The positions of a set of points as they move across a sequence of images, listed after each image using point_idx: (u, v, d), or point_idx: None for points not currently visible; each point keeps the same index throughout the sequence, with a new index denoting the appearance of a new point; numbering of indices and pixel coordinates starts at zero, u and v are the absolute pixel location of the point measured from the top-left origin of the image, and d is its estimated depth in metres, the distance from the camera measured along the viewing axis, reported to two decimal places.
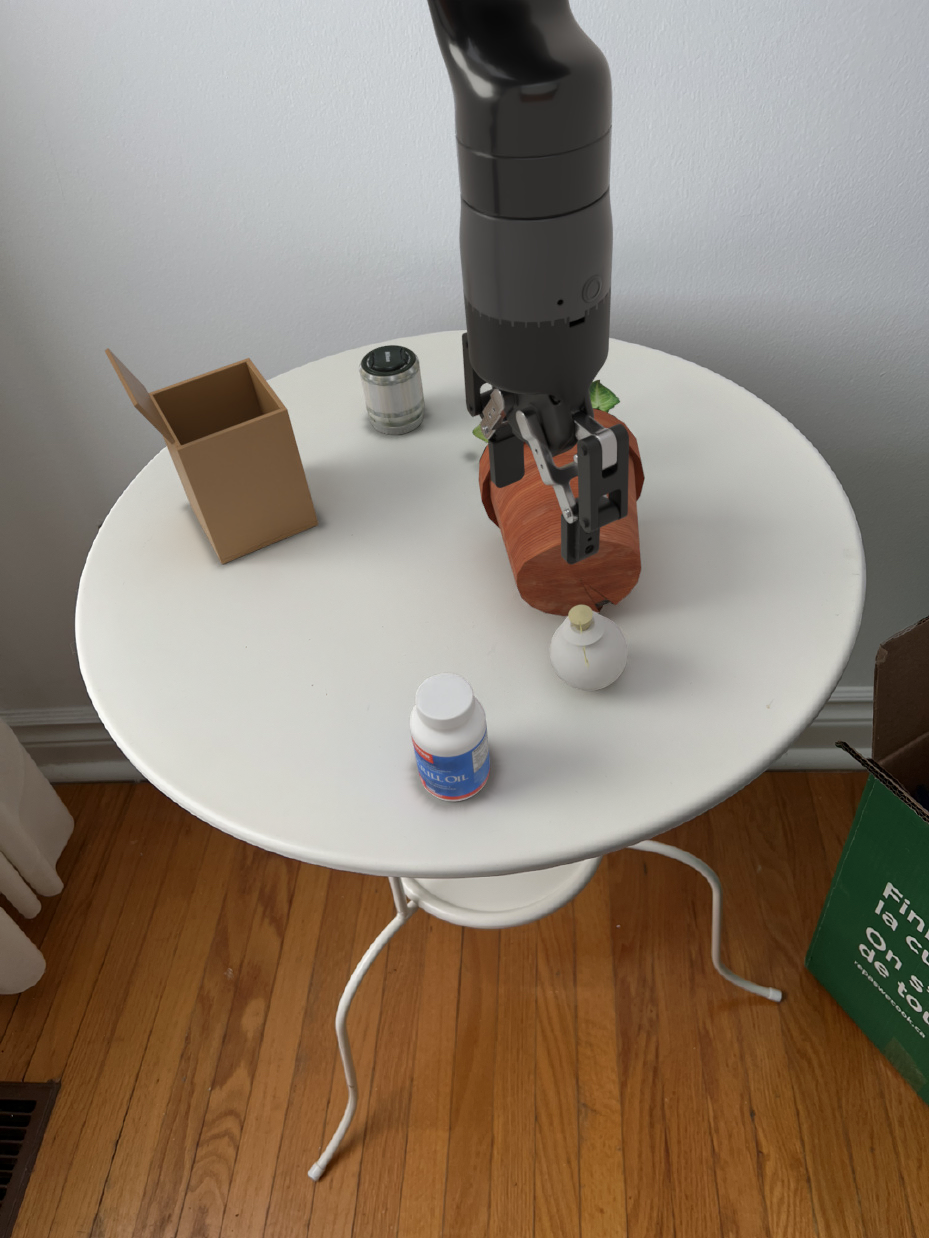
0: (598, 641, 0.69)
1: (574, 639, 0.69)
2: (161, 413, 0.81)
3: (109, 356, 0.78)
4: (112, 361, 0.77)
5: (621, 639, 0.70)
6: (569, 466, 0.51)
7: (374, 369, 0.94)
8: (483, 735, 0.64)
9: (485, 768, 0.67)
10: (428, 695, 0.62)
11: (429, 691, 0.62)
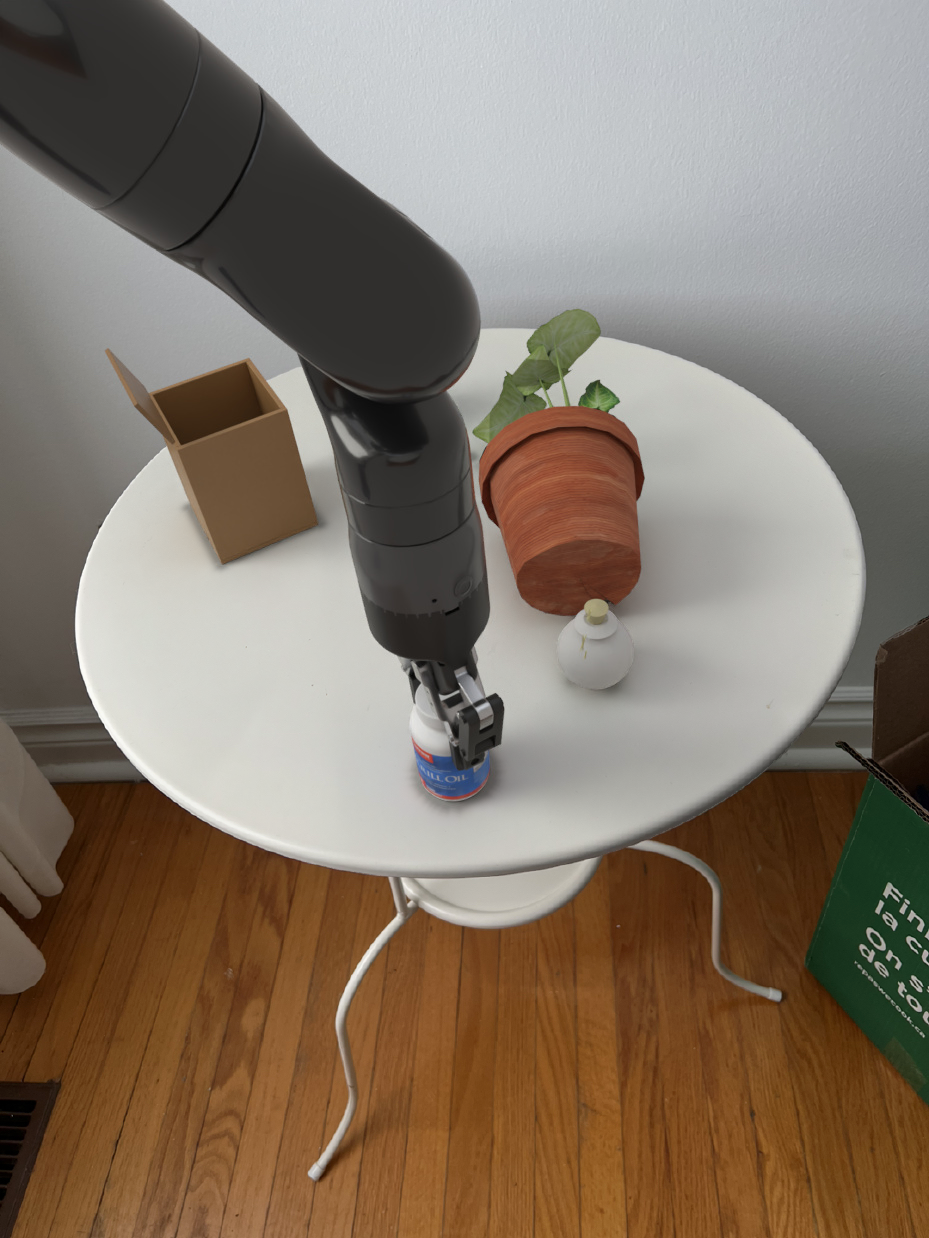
0: (604, 640, 0.69)
1: (582, 629, 0.69)
2: (161, 413, 0.81)
3: (109, 356, 0.78)
4: (112, 361, 0.77)
5: (628, 649, 0.70)
6: (455, 705, 0.58)
7: None
8: None
9: (485, 768, 0.67)
10: None
11: None
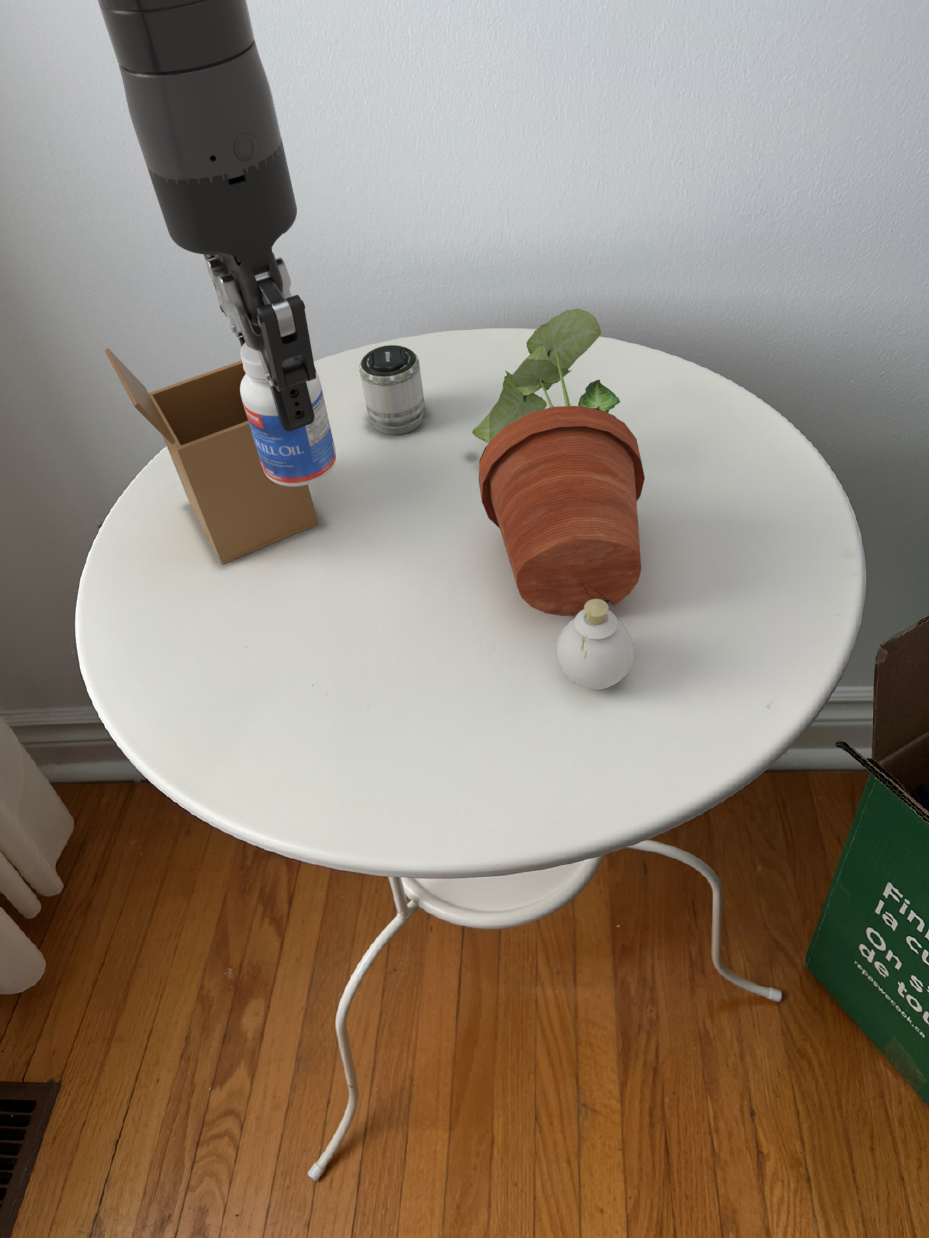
0: (604, 640, 0.69)
1: (582, 629, 0.69)
2: (161, 413, 0.81)
3: (109, 356, 0.78)
4: (112, 361, 0.77)
5: (628, 649, 0.70)
6: None
7: (374, 369, 0.94)
8: (315, 399, 0.61)
9: (325, 449, 0.64)
10: None
11: None
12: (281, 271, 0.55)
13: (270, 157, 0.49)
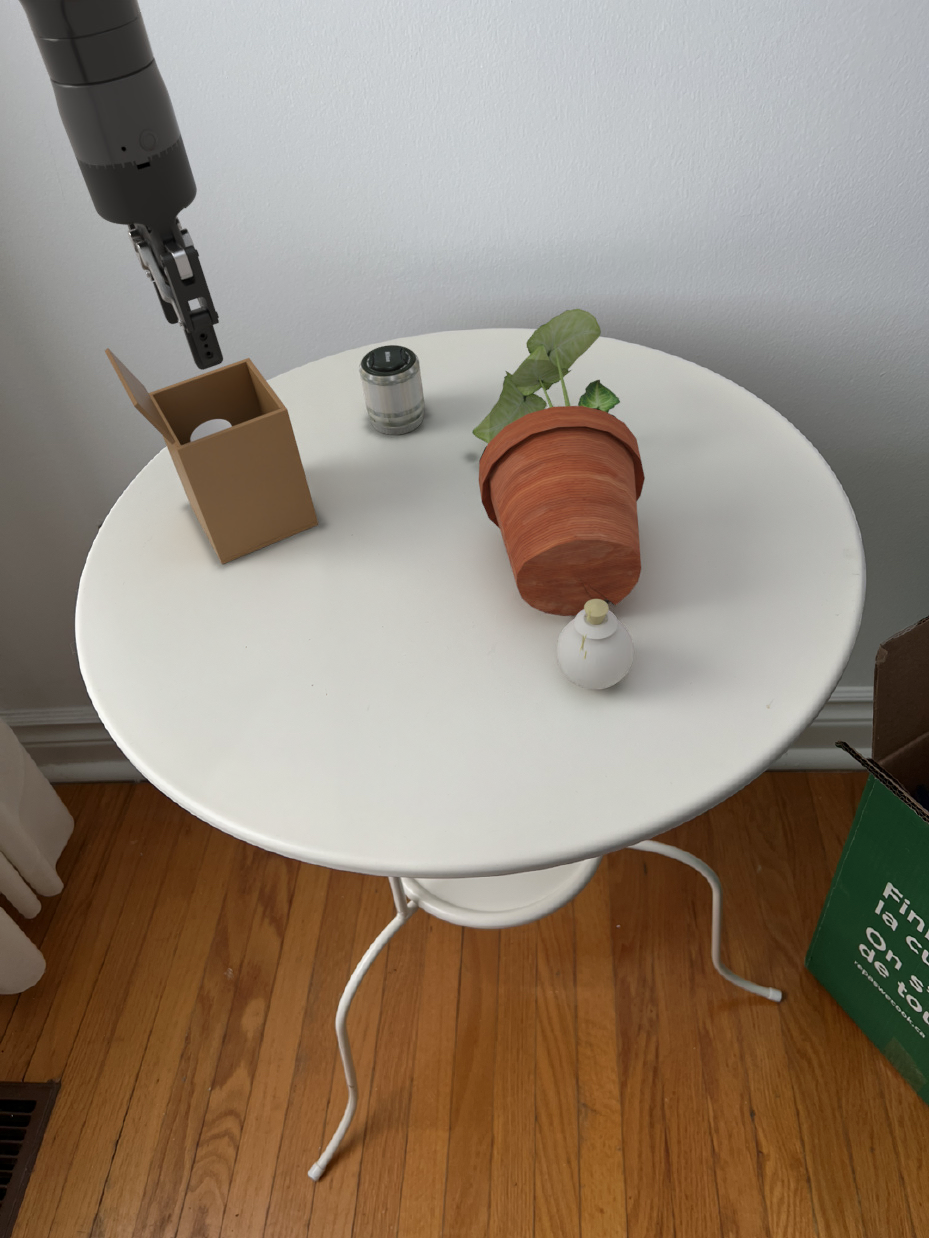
0: (604, 640, 0.69)
1: (582, 629, 0.69)
2: (161, 413, 0.81)
3: (109, 356, 0.78)
4: (112, 361, 0.77)
5: (628, 649, 0.70)
6: None
7: (374, 369, 0.94)
8: None
9: None
10: (199, 434, 0.84)
11: (201, 432, 0.84)
12: (185, 236, 0.70)
13: (170, 148, 0.64)
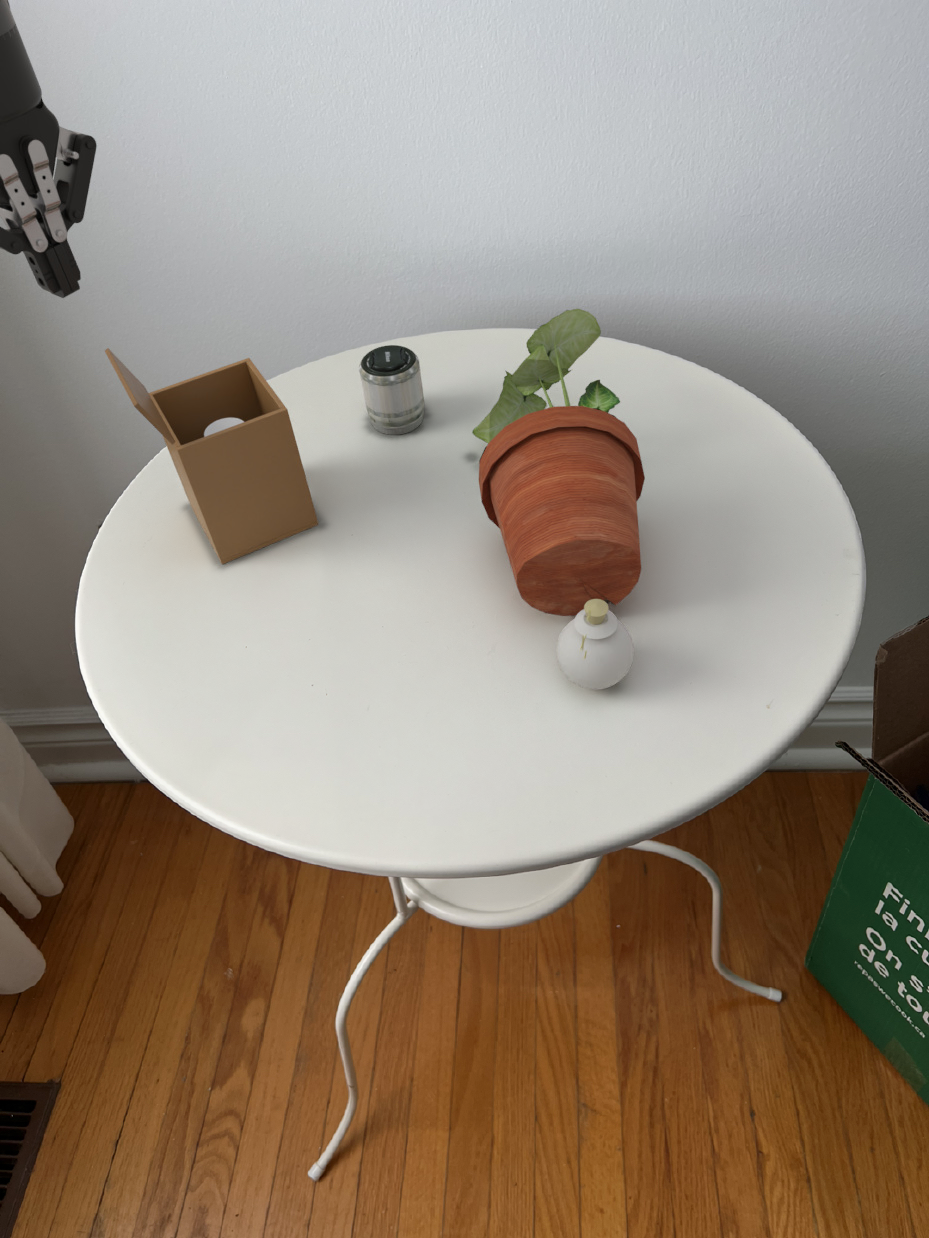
0: (604, 640, 0.69)
1: (582, 629, 0.69)
2: (161, 413, 0.81)
3: (109, 356, 0.78)
4: (112, 361, 0.77)
5: (628, 649, 0.70)
6: (3, 209, 0.64)
7: (374, 369, 0.94)
8: None
9: None
10: (213, 430, 0.84)
11: (215, 428, 0.84)
12: None
13: None
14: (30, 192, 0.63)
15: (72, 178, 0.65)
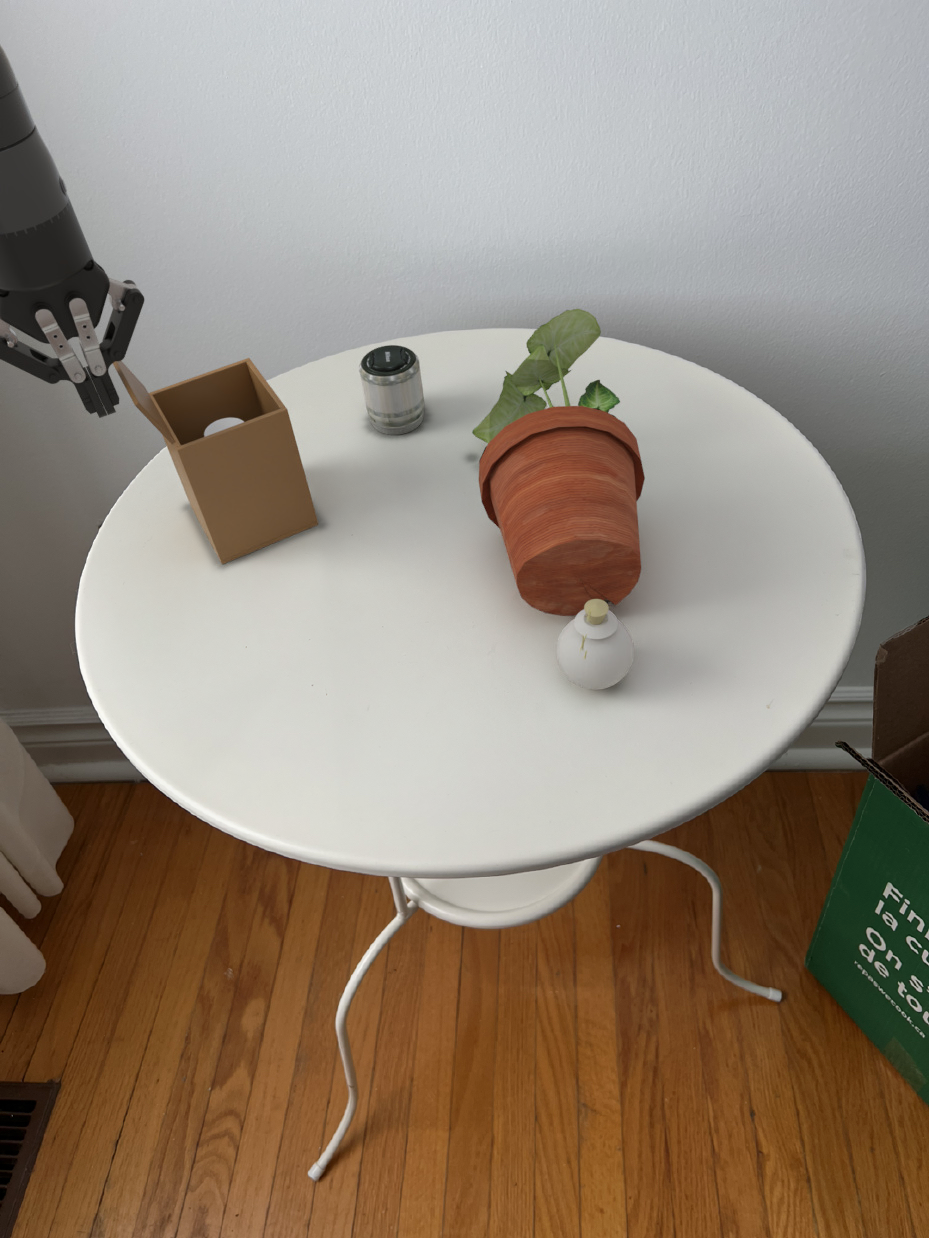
0: (604, 640, 0.69)
1: (582, 629, 0.69)
2: (161, 413, 0.81)
3: None
4: None
5: (628, 649, 0.70)
6: None
7: (374, 369, 0.94)
8: None
9: None
10: (213, 430, 0.84)
11: (215, 428, 0.84)
12: (36, 319, 0.68)
13: None
14: (73, 335, 0.71)
15: (117, 325, 0.72)
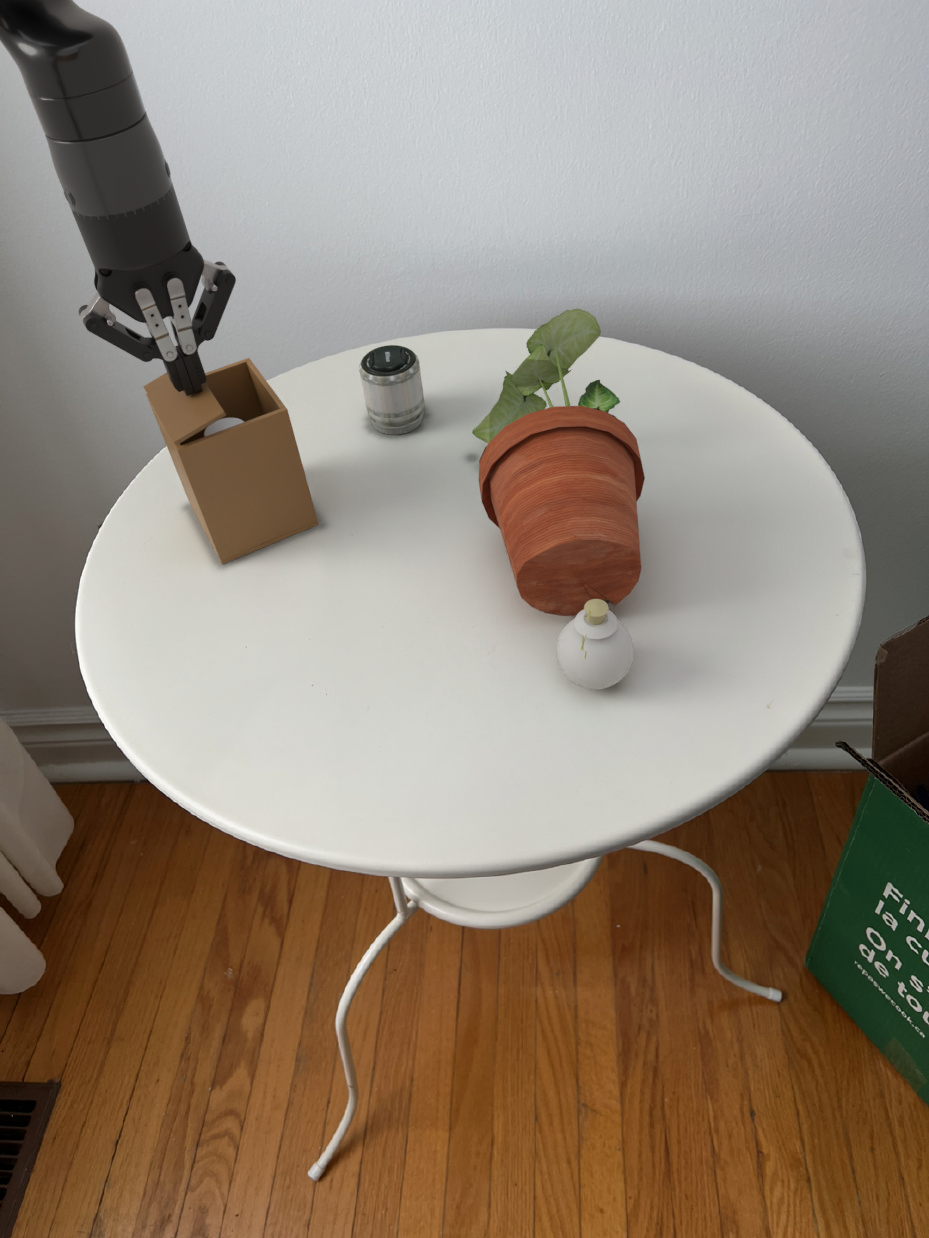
0: (604, 640, 0.69)
1: (582, 629, 0.69)
2: None
3: None
4: None
5: (628, 649, 0.70)
6: (146, 322, 0.75)
7: (374, 369, 0.94)
8: None
9: None
10: (213, 430, 0.84)
11: (215, 428, 0.84)
12: (135, 298, 0.71)
13: (88, 216, 0.65)
14: (168, 315, 0.74)
15: (209, 305, 0.75)
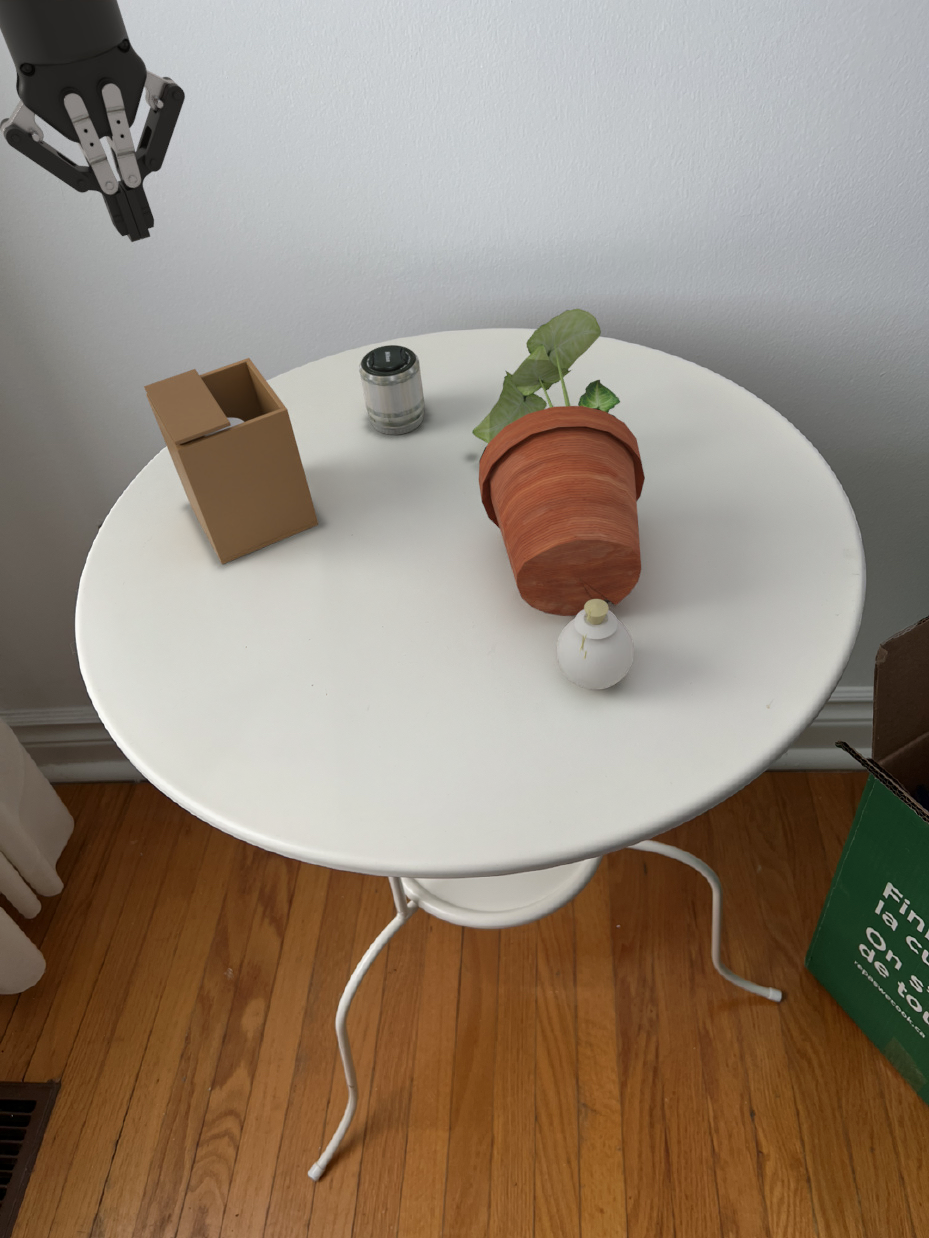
0: (604, 640, 0.69)
1: (582, 629, 0.69)
2: None
3: (200, 377, 0.83)
4: (203, 382, 0.83)
5: (628, 649, 0.70)
6: (81, 146, 0.64)
7: (374, 369, 0.94)
8: None
9: None
10: None
11: None
12: (64, 107, 0.61)
13: None
14: (105, 134, 0.63)
15: (154, 127, 0.65)
